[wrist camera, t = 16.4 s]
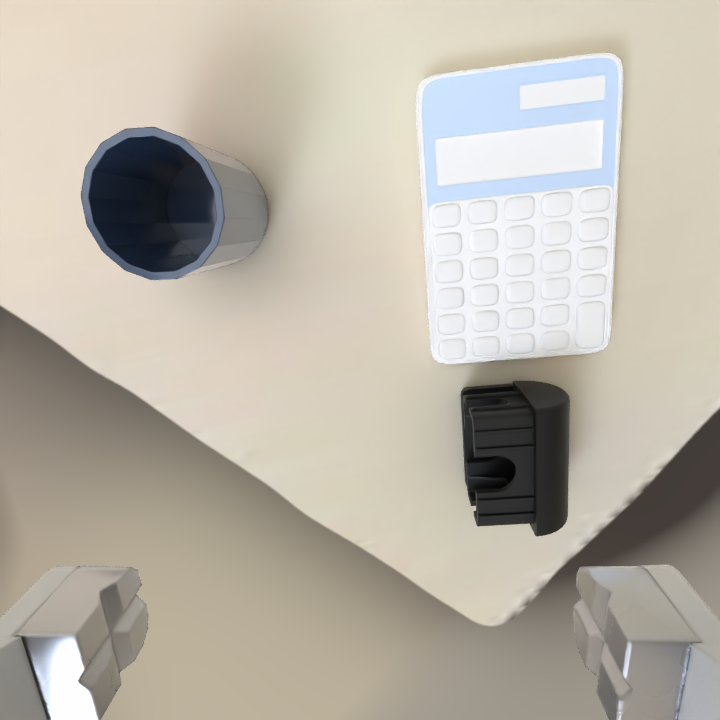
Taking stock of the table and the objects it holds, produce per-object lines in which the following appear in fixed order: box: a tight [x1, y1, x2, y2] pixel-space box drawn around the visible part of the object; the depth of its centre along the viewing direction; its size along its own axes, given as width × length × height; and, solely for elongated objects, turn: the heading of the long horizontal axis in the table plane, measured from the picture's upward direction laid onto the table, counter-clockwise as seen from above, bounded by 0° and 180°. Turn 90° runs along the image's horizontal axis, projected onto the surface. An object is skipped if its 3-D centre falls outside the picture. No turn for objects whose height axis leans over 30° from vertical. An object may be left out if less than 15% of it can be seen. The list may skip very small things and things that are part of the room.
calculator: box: [416, 53, 623, 364], centre depth 33 cm, size 13×20×2 cm, turn 6°
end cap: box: [461, 381, 570, 536], centre depth 36 cm, size 10×7×7 cm
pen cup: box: [81, 127, 268, 280], centre depth 30 cm, size 8×8×10 cm
